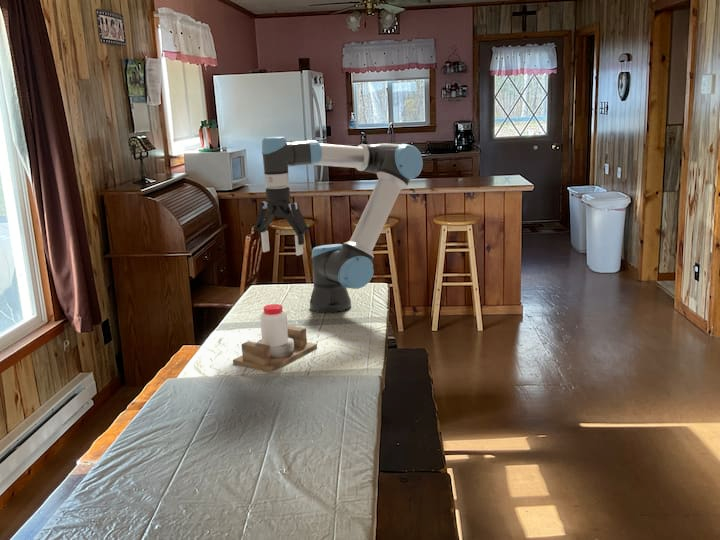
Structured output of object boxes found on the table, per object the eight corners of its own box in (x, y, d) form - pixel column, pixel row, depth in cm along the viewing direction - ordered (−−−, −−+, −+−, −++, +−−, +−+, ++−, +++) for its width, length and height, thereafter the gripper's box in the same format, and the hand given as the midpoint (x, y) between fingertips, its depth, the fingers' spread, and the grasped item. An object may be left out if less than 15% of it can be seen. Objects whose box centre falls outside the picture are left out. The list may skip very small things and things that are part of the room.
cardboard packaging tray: (281, 340, 215) (280, 322, 214) (316, 347, 208) (315, 328, 206) (233, 363, 198) (231, 343, 196) (270, 372, 190) (268, 351, 189)
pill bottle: (290, 337, 205) (288, 302, 202) (285, 346, 198) (283, 310, 195) (265, 337, 206) (262, 303, 203) (259, 346, 198) (256, 310, 196)
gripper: (239, 187, 217) (245, 252, 222) (302, 189, 204) (307, 258, 209) (254, 184, 223) (260, 247, 228) (316, 186, 210) (321, 253, 215)
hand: (282, 253), depth 219 cm, fingers open, 13 cm apart
